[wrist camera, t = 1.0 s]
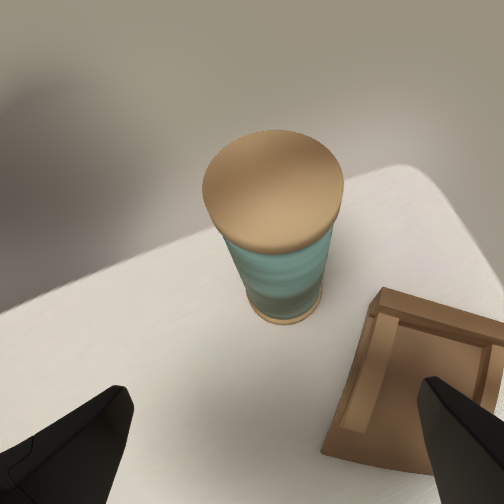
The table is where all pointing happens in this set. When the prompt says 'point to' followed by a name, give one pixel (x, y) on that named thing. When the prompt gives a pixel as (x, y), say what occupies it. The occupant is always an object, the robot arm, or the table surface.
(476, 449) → the robot arm
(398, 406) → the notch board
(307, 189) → the oak spool
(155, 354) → the table surface
